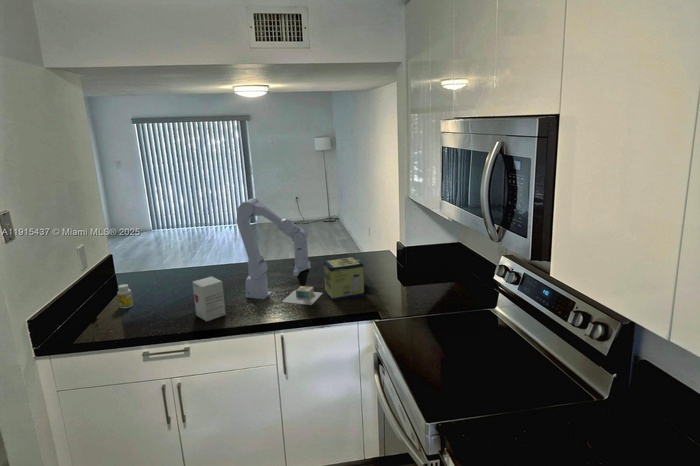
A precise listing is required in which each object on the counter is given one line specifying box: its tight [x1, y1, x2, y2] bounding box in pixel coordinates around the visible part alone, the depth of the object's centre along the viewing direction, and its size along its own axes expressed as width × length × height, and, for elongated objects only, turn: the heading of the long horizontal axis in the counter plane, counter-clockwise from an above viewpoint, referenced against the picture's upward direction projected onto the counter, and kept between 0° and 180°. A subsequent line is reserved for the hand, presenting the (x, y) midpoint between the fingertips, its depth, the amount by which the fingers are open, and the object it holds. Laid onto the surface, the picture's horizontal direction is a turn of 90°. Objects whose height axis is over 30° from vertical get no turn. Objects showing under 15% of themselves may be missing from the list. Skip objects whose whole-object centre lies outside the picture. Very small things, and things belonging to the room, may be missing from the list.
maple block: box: [295, 285, 315, 298], centre depth 205 cm, size 6×3×6 cm
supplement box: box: [192, 276, 226, 322], centre depth 186 cm, size 9×9×15 cm
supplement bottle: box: [116, 283, 134, 309], centre depth 198 cm, size 5×5×10 cm
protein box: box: [323, 256, 365, 301], centre depth 203 cm, size 10×16×16 cm
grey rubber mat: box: [281, 289, 323, 306], centre depth 203 cm, size 14×14×1 cm
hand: (303, 285), depth 202 cm, fingers closed
